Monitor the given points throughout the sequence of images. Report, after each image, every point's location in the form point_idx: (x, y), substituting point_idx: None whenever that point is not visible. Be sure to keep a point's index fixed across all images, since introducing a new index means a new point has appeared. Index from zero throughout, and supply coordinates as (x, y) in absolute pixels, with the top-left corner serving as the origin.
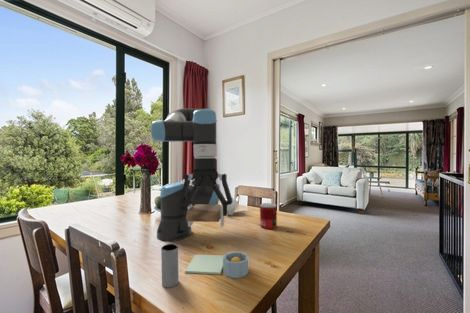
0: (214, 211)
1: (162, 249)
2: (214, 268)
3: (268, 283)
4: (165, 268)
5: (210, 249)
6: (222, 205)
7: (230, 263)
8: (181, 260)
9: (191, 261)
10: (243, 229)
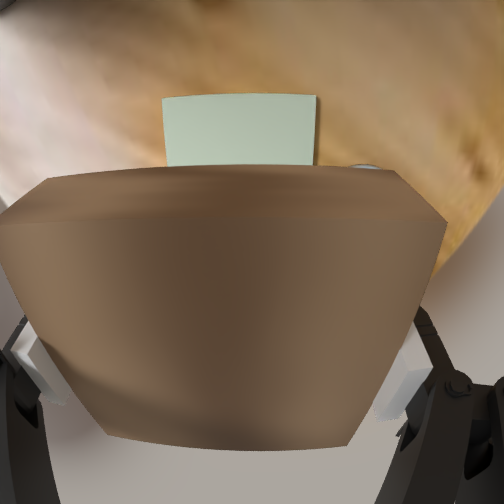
0: (317, 444)
1: None
2: None
3: (437, 259)
4: None
5: (219, 18)
6: (409, 388)
7: None
8: (121, 143)
9: (169, 163)
10: None
